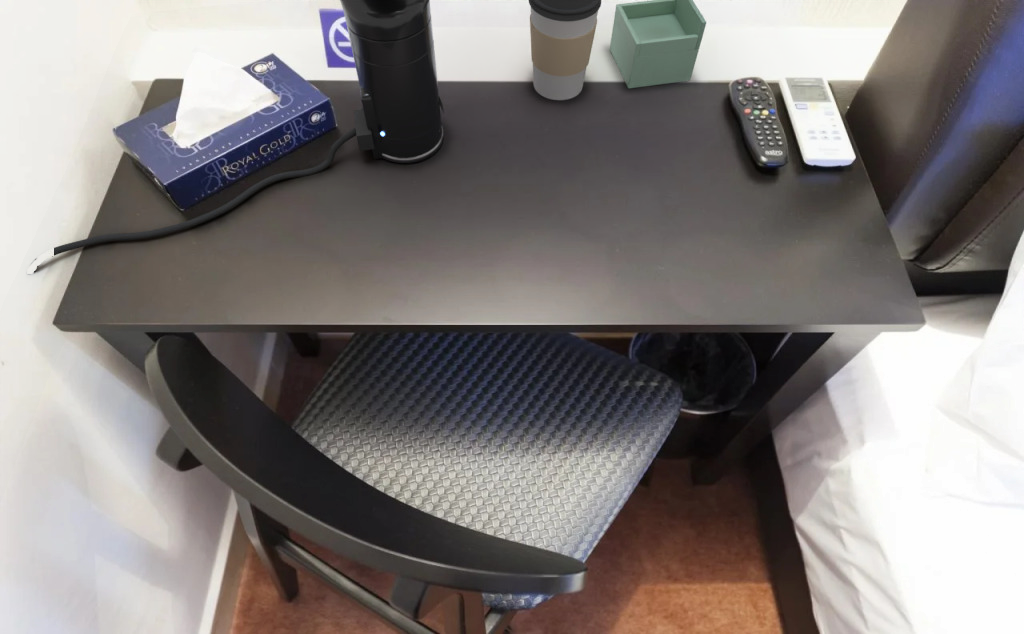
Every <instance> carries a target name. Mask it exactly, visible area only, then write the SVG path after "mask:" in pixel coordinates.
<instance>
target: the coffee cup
mask: <svg viewBox="0 0 1024 634" xmlns="http://www.w3.org/2000/svg"><path fill="white" fill-rule="evenodd" d="M528 4H529V6H530V15H529V30H530V55H531V63H532V82H533V83H532V84H533V88H534V90H535V91H536V93H537V94H539V95H540V96H542V97H544V98H546V99H547V100H553V101H566V100H570V99H573V98H575V97H577V96H578V95H579V94H581V92H582V90H583V87H584V81H585V78H586V77H585V76H586V73H587V67H588V66H589V64H590V59H591V54H592V48H593V44H594V40H595V35H596V31H597V25H598V14H599V10H600V8H601V6H602V0H528Z"/></svg>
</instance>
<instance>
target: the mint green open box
mask: <svg viewBox="0 0 1024 634" xmlns="http://www.w3.org/2000/svg"><path fill="white" fill-rule="evenodd" d="M706 26H707V20H706V19H705V17H704V16H703V14H702V13H701V10H700V9H699V7H698V6H697V5H696V3H695V1H694V0H643V1H635V2H625V3H618V4H617V3H616V5H615V11H614V18H613V24H612V31H611V37H610V45H609V51H610V54H611V55H612V57H613V59H614V62H615V64H616V66H617V68H618V70H619V72H620V74H621V76H622V79H623V80H624V82H625V85H626V88H627V89H635V88H643V87H652V86H660V85H666V84H674V83H675V84H676V83H681V82H690V81H691V80H692V76H693V72H694V69H695V65H696V61H697V58H698V54H699V50H700V47H701V44H702V40H703V37H704V33H705V30H706Z"/></svg>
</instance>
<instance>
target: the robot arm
mask: <svg viewBox="0 0 1024 634" xmlns="http://www.w3.org/2000/svg"><path fill="white" fill-rule="evenodd" d="M339 2H340V5H341V8H342V11H343V16H344V20H345V24H346V28H347V34H348V38H349V43H350V47H351V52H352V57H353V61H354V67H355V71H356V76H357V80H358V88H359V94H360V100H361V104H362V105H361V106H362V108H360V109H354V110H353V118H354V126H355V127H353V128H352V129H350V131H348V132H346V133H345V134H343V135H342V136H340V137H339V138H338V139H336V140H335V141H334V142H333V144H331V146H330V148H329V150H328V153H327V155H326V156H327V157H326V159H325V160H324V161H322V162H321V163H320V164H318V165H315V166H313V167H310V168H305V169H300V170H290V171H285V172H280V173H276V174H273V175H270V176H268V177H266V178H264V179H262V180H260V181H258V182H257V183H255V184H253V185H252V186H250V187H249V188H247V189H246V190H244V191H243V192H242V193H240V194H239V195H237V196H236V197H234V198H233V199H231V200H230V201H228V202H227V203H225V204H223V205H221V206H219V207H218V208H216V209H213V210H210V211H209V212H206V213H204V214H201V215H199V216H196V217H194V218H191V219H189V220H186V221H182V222H179V223H176V224H172V225H169V226H165V227H161V228H156V229H152V230H146V231H135V232H120V233H109V234H107V233H106V234H101V235H97V236H93V237H88V238H85V239H81V240H77V241H72V242H68V243H64V244H61V245H58V246H55V247H53V248H54V256H53V257H55V256H57V255H61V254H62V253H67V252H69V251H73V250H77V249H81V248H85V247H86V248H87V247H89V246H93V245H97V244H101V243H107V242H108V243H109V242H116V241H117V242H119V241H136V240H144V239H151V238H157V237H161V236H165V235H168V234H172V233H176V232H180V231H183V230H186V229H189V228H193V227H195V226H198V225H200V224H204V223H205V222H208V221H210V220H212V219H215V218H216V217H219V216H221V215H223V214H225V213H227V212H228V211H229V212H230V211H231V210H232V209H234V208H235V207H237V206H238V205H240V204H241V203H243V202H244V201H245V200H247V199H248V198H250V197H251V196H252V195H254V194H255V193H257V192H259V191H260V190H261V189H263V188H265V187H267V186H268V185H271V184H273V183H276V182H278V181H282V180H286V179H293V178H301V177H308V176H311V175H315V174H318V173H320V172H322V171H324V170H326V169H327V168H328V167H330V166H331V165H332V164H333V162H334V159H335V157H336V153H337V151H338V150H339V148H340V147H342V146H343V145H344V144H345V143H346V142H348V141H350V140H351V139H353V138H354V137H356V140H357V144H358V148H359V151H360V152H362V151H363V152H364V151H370V150H371V151H372V155H373V159H374V160H379V159H384V160H386V161H388V162H391V163H396V164H412V163H413V164H415V163H419V162H420V161H424V160H426V159H429V158H430V157H433V155H435V154H436V153H437V152H438V151H439V150H440V148H441V146H442V144H443V141H444V129H443V120H442V116H441V115H442V114H441V110H442V113H443V114H445V110H444V103H443V102H442V99H441V97H440V95H439V94H440V93H439V83H438V74H437V62H436V61H437V60H436V53H435V41H434V32H433V30H434V29H433V22H432V12H431V11H432V10H431V2H430V0H339Z"/></svg>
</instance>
